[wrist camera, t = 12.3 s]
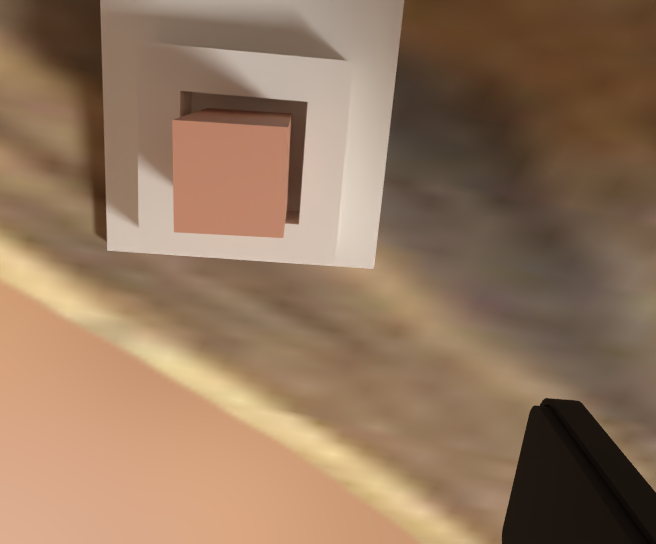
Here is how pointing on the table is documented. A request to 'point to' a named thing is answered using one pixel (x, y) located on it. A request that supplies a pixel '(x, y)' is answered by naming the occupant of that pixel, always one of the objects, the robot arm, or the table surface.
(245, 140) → the peg
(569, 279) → the table surface
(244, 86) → the socket stand
